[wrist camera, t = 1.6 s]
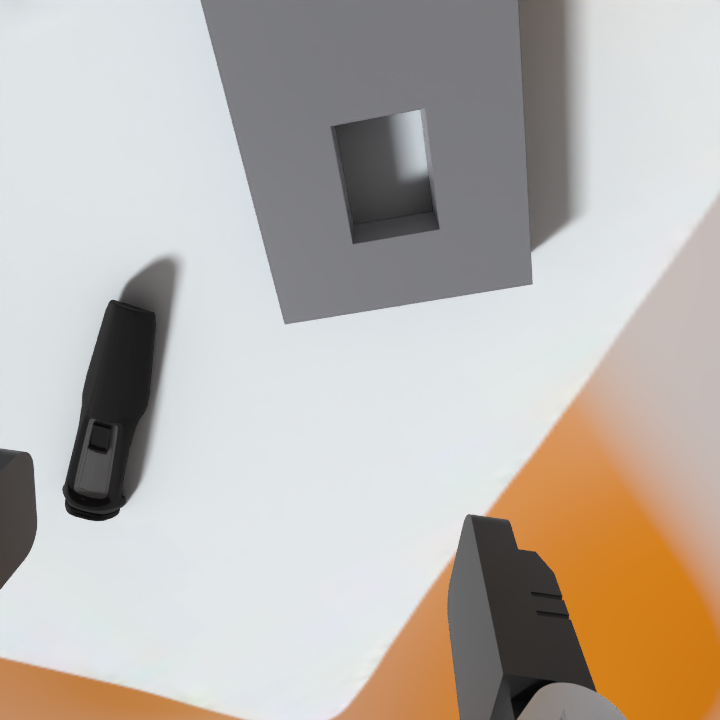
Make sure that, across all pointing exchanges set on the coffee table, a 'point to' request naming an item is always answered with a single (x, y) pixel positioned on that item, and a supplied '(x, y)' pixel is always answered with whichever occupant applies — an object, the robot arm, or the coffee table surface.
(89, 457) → the electric trimmer
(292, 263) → the socket board
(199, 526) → the coffee table surface
